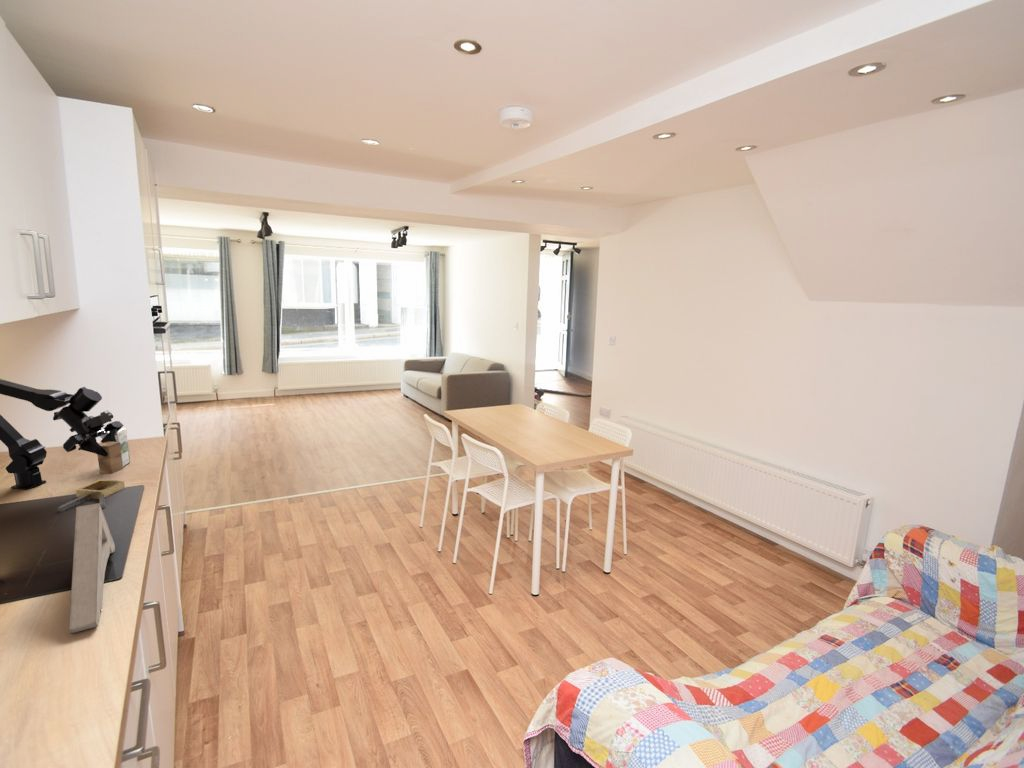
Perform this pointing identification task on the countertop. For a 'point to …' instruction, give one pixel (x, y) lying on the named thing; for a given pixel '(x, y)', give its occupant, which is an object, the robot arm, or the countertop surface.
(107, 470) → the brown wooden block
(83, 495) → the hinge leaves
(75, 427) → the robot arm
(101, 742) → the countertop surface
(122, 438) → the syrup box
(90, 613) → the wall bracket
